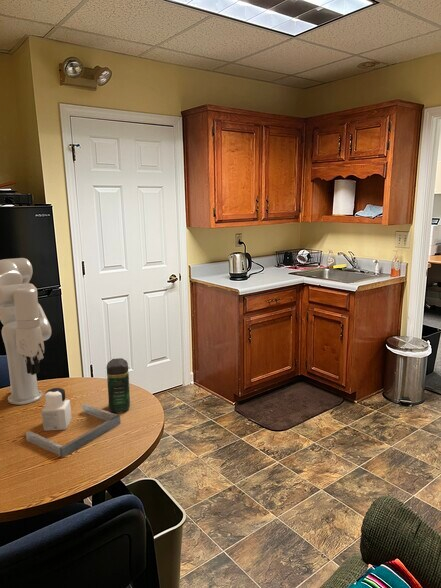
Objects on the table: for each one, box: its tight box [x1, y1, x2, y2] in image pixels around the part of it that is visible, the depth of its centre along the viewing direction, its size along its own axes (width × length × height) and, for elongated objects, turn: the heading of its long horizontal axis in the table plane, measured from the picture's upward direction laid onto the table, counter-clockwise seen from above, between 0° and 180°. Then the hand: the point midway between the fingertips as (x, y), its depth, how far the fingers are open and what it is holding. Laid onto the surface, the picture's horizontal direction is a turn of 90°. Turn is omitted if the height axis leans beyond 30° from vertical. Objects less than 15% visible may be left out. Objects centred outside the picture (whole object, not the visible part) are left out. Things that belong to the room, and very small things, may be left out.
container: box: [41, 387, 72, 431], centre depth 155 cm, size 8×8×13 cm
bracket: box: [25, 403, 122, 458], centre depth 151 cm, size 18×24×3 cm
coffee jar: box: [106, 357, 131, 413], centre depth 167 cm, size 10×8×19 cm
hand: (33, 372), depth 158 cm, fingers closed
